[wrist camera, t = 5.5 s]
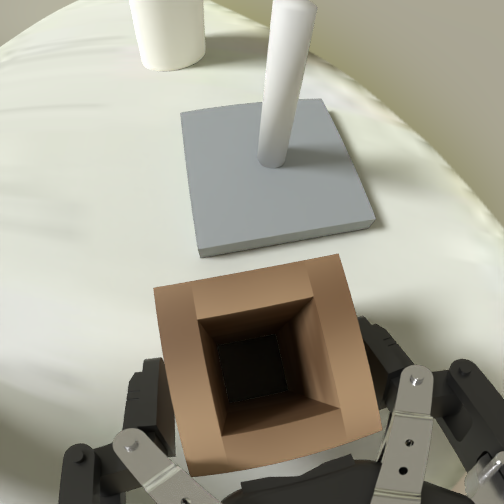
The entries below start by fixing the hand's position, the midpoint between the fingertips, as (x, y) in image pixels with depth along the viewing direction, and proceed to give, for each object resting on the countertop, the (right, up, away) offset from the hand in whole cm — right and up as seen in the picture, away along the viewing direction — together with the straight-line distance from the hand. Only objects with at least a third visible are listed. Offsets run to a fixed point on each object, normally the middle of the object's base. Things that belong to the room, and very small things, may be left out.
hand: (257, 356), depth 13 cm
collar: (0, -3, +5) cm, 6 cm away
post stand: (+1, +11, +10) cm, 15 cm away
